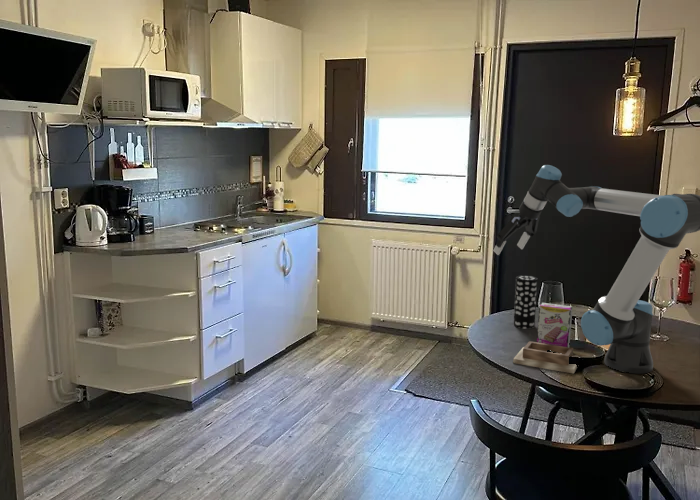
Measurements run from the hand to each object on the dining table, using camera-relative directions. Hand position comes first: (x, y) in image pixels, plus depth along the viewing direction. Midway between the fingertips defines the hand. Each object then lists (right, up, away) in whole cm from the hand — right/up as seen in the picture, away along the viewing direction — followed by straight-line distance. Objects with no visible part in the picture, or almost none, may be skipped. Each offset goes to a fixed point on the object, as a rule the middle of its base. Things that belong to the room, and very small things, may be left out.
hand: (508, 250), depth 243 cm
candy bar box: (+14, -36, -8) cm, 40 cm away
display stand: (+8, -39, -21) cm, 45 cm away
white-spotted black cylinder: (+11, -31, +19) cm, 38 cm away
